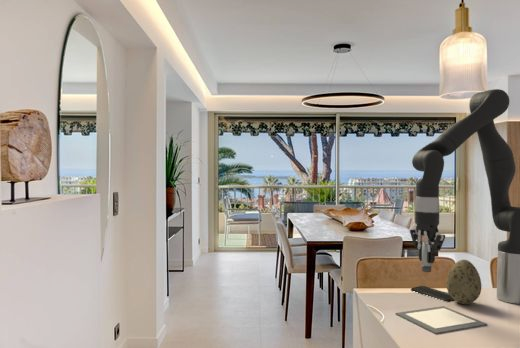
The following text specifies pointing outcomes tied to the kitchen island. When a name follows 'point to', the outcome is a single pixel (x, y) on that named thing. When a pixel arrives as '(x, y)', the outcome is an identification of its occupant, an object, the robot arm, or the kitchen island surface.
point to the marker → (425, 256)
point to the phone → (433, 293)
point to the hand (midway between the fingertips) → (426, 261)
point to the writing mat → (440, 319)
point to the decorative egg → (463, 282)
